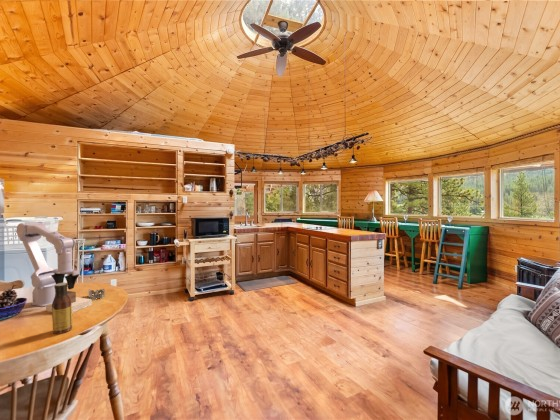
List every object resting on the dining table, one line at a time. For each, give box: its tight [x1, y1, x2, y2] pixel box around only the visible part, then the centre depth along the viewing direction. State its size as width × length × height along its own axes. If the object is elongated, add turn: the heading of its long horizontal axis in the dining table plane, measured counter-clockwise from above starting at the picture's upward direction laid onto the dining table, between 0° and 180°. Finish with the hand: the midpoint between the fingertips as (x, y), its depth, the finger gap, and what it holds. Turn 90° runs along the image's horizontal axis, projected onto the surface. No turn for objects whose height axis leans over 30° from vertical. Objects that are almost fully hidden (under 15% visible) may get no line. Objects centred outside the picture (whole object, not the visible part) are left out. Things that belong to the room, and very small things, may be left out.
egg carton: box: [88, 288, 106, 301], centre depth 146 cm, size 11×8×4 cm
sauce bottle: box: [51, 282, 73, 335], centre depth 107 cm, size 7×6×20 cm
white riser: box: [45, 296, 93, 314], centre depth 131 cm, size 14×12×3 cm
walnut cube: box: [67, 290, 77, 303], centre depth 129 cm, size 5×5×5 cm
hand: (65, 288), depth 132 cm, fingers open, 7 cm apart
